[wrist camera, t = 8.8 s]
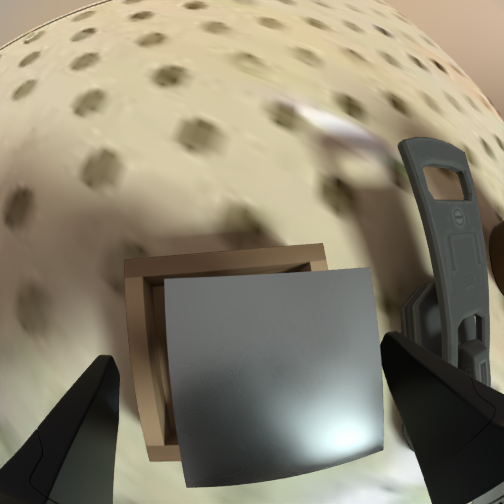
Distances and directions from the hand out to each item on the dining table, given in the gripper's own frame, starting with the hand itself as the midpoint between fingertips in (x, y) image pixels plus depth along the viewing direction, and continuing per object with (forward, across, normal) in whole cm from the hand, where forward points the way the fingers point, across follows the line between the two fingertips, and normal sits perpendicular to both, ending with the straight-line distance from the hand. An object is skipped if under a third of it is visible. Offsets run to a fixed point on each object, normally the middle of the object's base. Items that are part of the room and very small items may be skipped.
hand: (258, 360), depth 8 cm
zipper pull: (+8, -16, +6) cm, 19 cm away
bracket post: (+6, 0, +6) cm, 9 cm away
